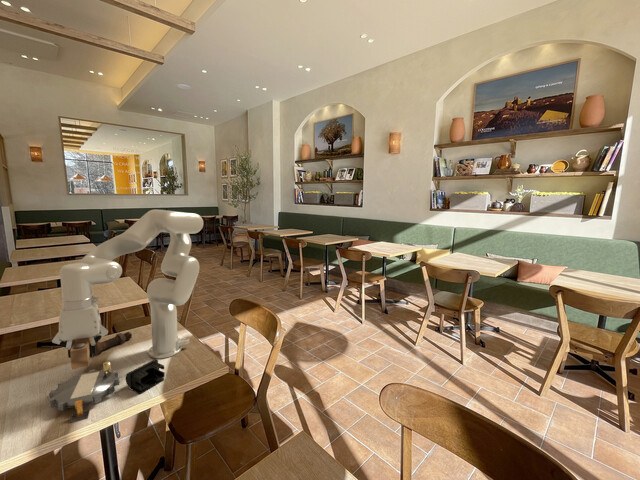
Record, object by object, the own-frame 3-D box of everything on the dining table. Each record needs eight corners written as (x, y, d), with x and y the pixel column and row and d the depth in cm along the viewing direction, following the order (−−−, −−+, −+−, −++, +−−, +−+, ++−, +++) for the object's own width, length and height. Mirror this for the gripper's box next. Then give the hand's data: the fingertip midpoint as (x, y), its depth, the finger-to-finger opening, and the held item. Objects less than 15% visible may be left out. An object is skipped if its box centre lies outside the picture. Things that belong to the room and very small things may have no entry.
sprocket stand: (99, 386, 102) (98, 376, 101) (92, 416, 89) (91, 404, 88) (76, 392, 99) (75, 381, 98) (66, 423, 86) (64, 411, 85)
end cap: (153, 373, 111) (152, 356, 110) (165, 379, 107) (165, 362, 106) (125, 388, 102) (124, 370, 101) (138, 395, 99) (137, 377, 98)
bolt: (131, 343, 135) (95, 358, 121) (124, 335, 136) (88, 349, 122) (135, 333, 133) (100, 348, 119) (129, 326, 134) (92, 339, 120)
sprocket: (123, 369, 110) (122, 352, 109) (114, 400, 94) (113, 381, 92) (60, 380, 102) (58, 363, 101) (39, 417, 85) (36, 397, 84)
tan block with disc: (92, 348, 102) (91, 330, 101) (88, 366, 92) (86, 346, 91) (77, 351, 100) (76, 332, 99) (71, 369, 90) (69, 349, 89)
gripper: (112, 295, 100) (115, 346, 103) (46, 302, 92) (51, 357, 95) (109, 303, 94) (113, 356, 96) (39, 311, 85) (44, 370, 88)
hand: (82, 356), depth 95 cm, fingers closed on tan block with disc, 4 cm apart
